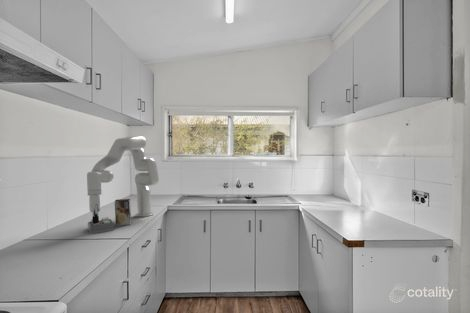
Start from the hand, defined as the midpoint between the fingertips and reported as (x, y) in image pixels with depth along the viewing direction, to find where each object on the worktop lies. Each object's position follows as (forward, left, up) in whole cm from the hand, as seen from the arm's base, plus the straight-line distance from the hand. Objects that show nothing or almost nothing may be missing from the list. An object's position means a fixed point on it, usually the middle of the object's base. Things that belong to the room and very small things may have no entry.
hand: (95, 222), depth 186 cm
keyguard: (-3, +3, -5) cm, 7 cm away
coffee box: (-9, +18, -5) cm, 21 cm away
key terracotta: (0, 0, -4) cm, 4 cm away
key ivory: (-6, +6, -2) cm, 9 cm away
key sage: (0, +6, -4) cm, 7 cm away
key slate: (-6, 0, -2) cm, 7 cm away
